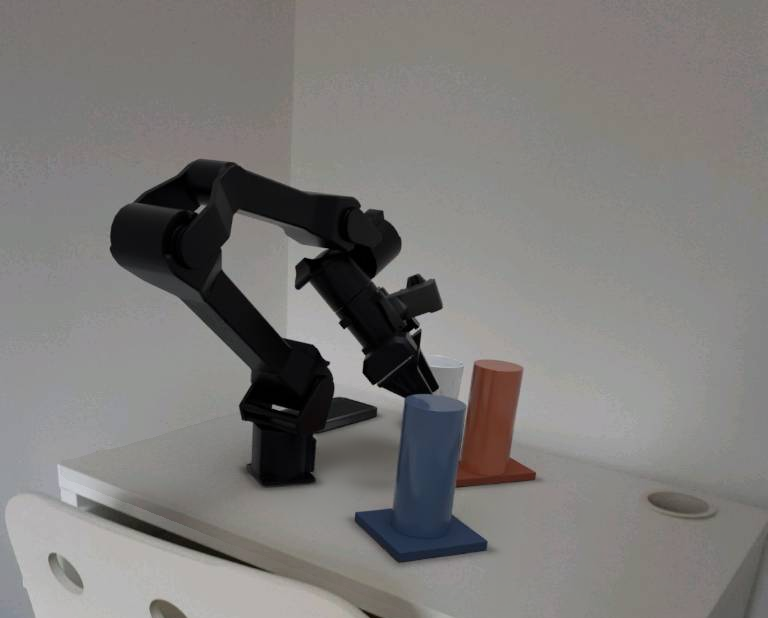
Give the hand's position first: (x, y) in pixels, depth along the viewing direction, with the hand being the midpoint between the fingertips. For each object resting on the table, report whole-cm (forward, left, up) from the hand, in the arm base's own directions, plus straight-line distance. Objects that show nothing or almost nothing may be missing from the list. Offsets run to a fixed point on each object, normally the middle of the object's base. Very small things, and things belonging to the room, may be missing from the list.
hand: (436, 399), depth 98 cm
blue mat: (-11, -17, -9) cm, 22 cm away
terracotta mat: (+6, -3, -9) cm, 11 cm away
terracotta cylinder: (+6, -3, -8) cm, 11 cm away
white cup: (+9, +16, -9) cm, 20 cm away
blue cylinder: (-11, -17, -8) cm, 22 cm away
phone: (-4, +23, -9) cm, 25 cm away
